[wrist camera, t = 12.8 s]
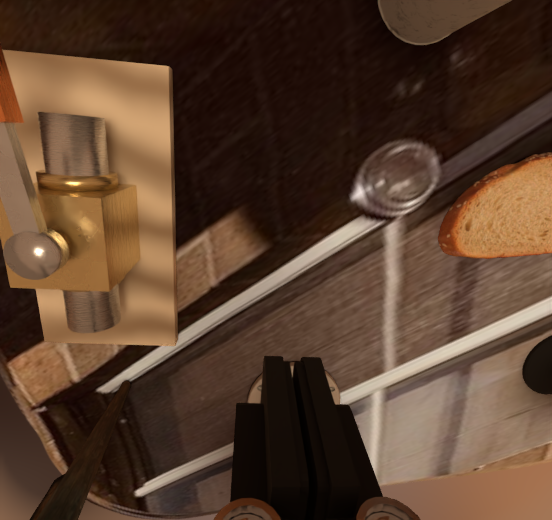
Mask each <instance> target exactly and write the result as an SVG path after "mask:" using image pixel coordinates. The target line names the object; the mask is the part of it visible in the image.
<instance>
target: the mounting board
mask: <svg viewBox="0 0 552 520" xmlns="http://www.w3.org/2000/svg"><path fill="white" fill-rule="evenodd" d="M2 51H3V54H4V57H5V61H6V64H7V67H8V71H9V74H10V77H11V81H12V84H13V87H14V91H15V94H16V97H17V101H18V104H19V107H20V111H21V114H22V117H23V121H24V123H15V127H16V130H17V133H18V137H19V140H20V143H21V146H22V150H23V153H24V156H25V159H26V162H27V166H28V169H29V172H30V175H31V179H32V182H33V183H36V182H37V178H36V171H39V170H45V166H44V159H43V152H42V145H41V138H40V131H39V124H38V117H37V112H48V113H60V114H71V115H81V116H91V117H99V118H105V128H106V141H107V153H108V165H109V171H110V172H115V173H117V174H118V184H131V185H136V188H137V205H138V222H139V240H140V257H141V259H140V260H139V261H138V262H137V263H136V264H135V265H134V266H133V267H132V269H131V270H130V271H129V272H128V273H127V274H126V275H125V278H124V280H123V281H122V282H120V283H119V284H118V285H119V297H120V309H121V320H120V322H119V323H118V324H117V325H115V326H114V327H112V328H110V329H107V330H104V331H100V332H96V333H77V332H73V331H71V330H70V329H69V328H68V326H67V319H66V312H65V305H64V298H63V291H62V290H58V289H36V293H37V299H38V305H39V311H40V317H41V323H42V328H43V334H44V340H45V342H58V343H92V344H126V345H160V346H175V345H176V343H177V340H178V321H177V273H176V225H175V178H174V130H173V82H172V69H171V68H170V67H169V66H161V65H151V64H141V63H131V62H121V61H111V60H101V59H91V58H81V57H71V56H61V55H51V54H40V53H30V52H20V51H10V50H2Z"/></svg>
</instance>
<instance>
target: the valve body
mask: <svg viewBox="0 0 552 520" xmlns="http://www.w3.org/2000/svg"><path fill="white" fill-rule="evenodd" d="M37 117H38V124H39V131H40V138H41V145H42V152H43V159H44V166H45V170H39V171H36V178H37V182H36V183H33V185H34V188H35V191H36V195H37V198H38V201H39V204H40V208H41V211H42V214H43V217H44V220H45V224H46V227H47V228H50V229H52V230H54V231H56V232H57V233H59V234H60V235H61V236H62V237H63V238H64V240H65V241H66V243H67V245H68V248H69V258H68V261H67V263H66V264H65V265H64V266H63V267H62V268H60V269H59V270H57V271H56V272H54V273H53V274H51V275H50V276H48V277H46V278H44V279H40V280H30V279H26V278H23V277H21V276H19V275H17V274H16V273H15V272H13V271H12V270H11V269H10V268H9V266H8V265H7V263H6V261H5V263H6V268H7V273H8V278H9V283H10V287H11V288H34V289H58V290H62V291H63V298H64V305H65V312H66V319H67V326H68V328H69V329H70V330H71V331H73V332H77V333H96V332H100V331H104V330H107V329H110V328H112V327H114V326H115V325H117V324H118V323H119V322H120V320H121V309H120V297H119V285H118V284H119V283H120V282H122V281H123V280H124V278H125V275H126V274H127V273H128V272H129V271H130V270H131V269H132V267H133V266H134V265H135V264H136V263H137V262H138V261H139V260H140V259H141V257H140V240H139V222H138V205H137V188H136V185H131V184H118V174H117V173H115V172H110V171H109V165H108V153H107V141H106V128H105V118H99V117H91V116H81V115H71V114H60V113H48V112H37ZM11 236H13V232H12V229H11V226H10V223H9V220H8V217H7V215H6V212H5V209H4V206H3V203H2V200H1V197H0V237H1V242H2V247H3V248H4V245H5V243H6V241H7V240H8V239H9V238H10V237H11Z"/></svg>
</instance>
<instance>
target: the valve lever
mask: <svg viewBox="0 0 552 520" xmlns="http://www.w3.org/2000/svg"><path fill="white" fill-rule="evenodd" d="M15 123H24V121H23V117H22V114H21V111H20V107H19V104H18V101H17V97H16V94H15V91H14V87H13V84H12V81H11V77H10V74H9V71H8V67H7V64H6V61H5V57H4V54H3V51H2V47H1V44H0V197H1V200H2V203H3V206H4V209H5V212H6V215H7V217H8V220H9V223H10V226H11V229H12V232H13V236H11V237H10V238H9V239H8V240H7V241H6V243H5V245H4V248H3V255H4V259H5V261H6V263H7V265H8V266H9V268H10V269H11V270H12V271H13V272H15V273H16V274H17V275H19V276H21V277H23V278H26V279H30V280H40V279H44V278H46V277H48V276H50V275H51V274H53V273H54V272H56V271H57V270H59V269H60V268H62V267H63V266H64V265H65V264H66V263H67V261H68V258H69V248H68V245H67V243H66V241H65V240H64V238H63V237H62V236H61V235H60V234H59V233H57V232H56V231H54V230H52V229H50V228H47V227H46V224H45V220H44V217H43V214H42V211H41V208H40V204H39V201H38V198H37V195H36V191H35V188H34V185H33V182H32V179H31V175H30V172H29V169H28V166H27V162H26V159H25V156H24V153H23V150H22V146H21V143H20V140H19V137H18V133H17V130H16V127H15Z"/></svg>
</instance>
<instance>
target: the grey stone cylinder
mask: <svg viewBox="0 0 552 520" xmlns="http://www.w3.org/2000/svg"><path fill="white" fill-rule="evenodd" d="M509 1H511V0H378V7H379V10H380V13H381V16H382V19H383V21H384V22H385V24H386V26H387V27H388V29H389V30H390V31H391V32H392V33H393V34H394V35H395V36H396V37H397V38H399V39H401V40H402V41H404V42H406V43H410V44H414V45H428V44H431V43H435V42H438V41H440V40H442V39H443V38H445V37H447V36H449V35H450V34H451V33H452V32H454V31H456V30H458V29H460V28H462V27H463V26H465V25H467V24H469V23H471V22H473V21H474V20H476V19H478V18H480V17H482V16H484V15H485V14H487V13H489V12H491V11H493V10H495V9H497V8H498V7H500V6H502V5H504V4H506V3H508V2H509Z"/></svg>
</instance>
